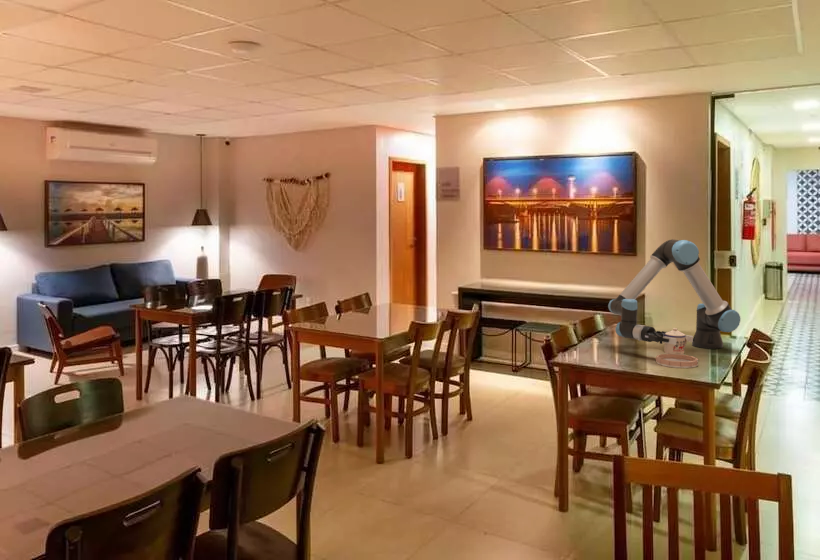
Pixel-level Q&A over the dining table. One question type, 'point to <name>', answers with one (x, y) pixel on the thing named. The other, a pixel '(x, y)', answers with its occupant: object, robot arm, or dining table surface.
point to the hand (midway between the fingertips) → (684, 340)
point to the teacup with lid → (680, 343)
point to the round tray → (677, 361)
